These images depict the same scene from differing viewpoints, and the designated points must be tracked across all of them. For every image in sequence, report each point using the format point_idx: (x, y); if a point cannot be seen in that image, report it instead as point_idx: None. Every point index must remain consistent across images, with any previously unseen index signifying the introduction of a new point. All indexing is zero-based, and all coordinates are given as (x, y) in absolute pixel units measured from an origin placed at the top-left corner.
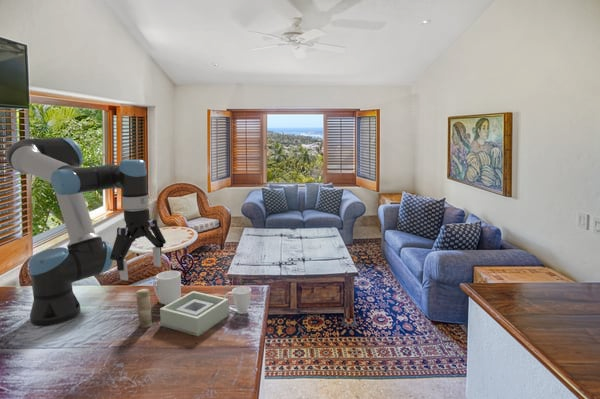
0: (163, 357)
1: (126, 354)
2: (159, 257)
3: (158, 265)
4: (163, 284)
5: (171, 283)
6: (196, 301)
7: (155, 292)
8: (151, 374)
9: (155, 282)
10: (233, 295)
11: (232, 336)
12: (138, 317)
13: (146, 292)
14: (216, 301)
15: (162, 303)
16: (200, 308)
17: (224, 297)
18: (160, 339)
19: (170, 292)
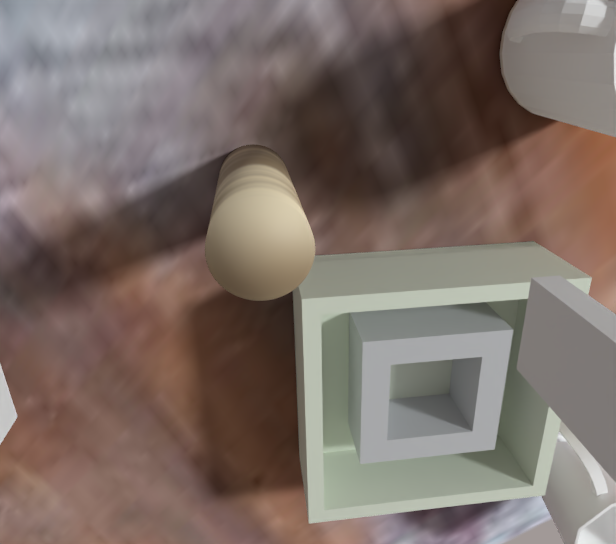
0: (111, 462)
1: (21, 332)
2: (602, 454)
3: (525, 362)
4: (582, 80)
5: (613, 131)
6: (489, 362)
7: (512, 25)
8: (15, 506)
9: (566, 24)
10: (573, 511)
11: (358, 539)
12: (220, 175)
13: (259, 298)
14: (530, 427)
15: (502, 46)
16: (464, 373)
17: (571, 446)
18: (196, 354)
19: (561, 113)
